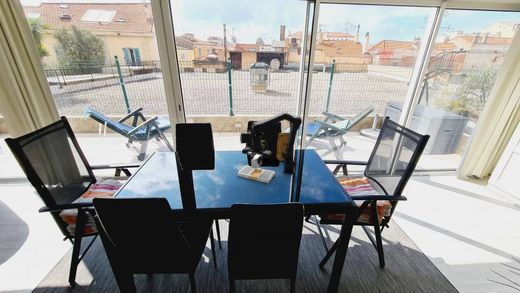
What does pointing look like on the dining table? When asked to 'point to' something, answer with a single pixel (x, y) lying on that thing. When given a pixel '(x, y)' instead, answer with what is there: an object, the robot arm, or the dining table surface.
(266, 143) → the magazine
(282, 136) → the coffee package
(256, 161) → the grey block
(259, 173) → the rack
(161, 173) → the dining table surface
